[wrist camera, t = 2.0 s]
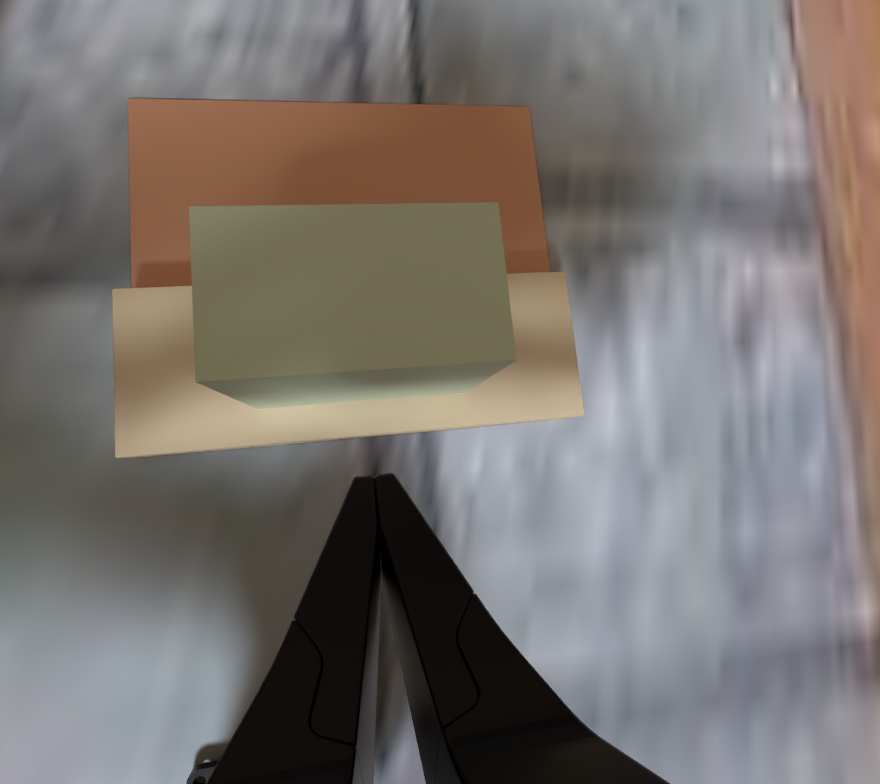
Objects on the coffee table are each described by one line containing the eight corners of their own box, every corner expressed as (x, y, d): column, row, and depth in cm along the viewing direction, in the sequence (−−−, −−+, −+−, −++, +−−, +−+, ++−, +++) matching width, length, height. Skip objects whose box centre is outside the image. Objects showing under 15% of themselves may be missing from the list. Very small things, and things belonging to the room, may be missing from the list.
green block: (465, 392, 22) (516, 360, 14) (257, 409, 20) (195, 381, 13) (454, 286, 22) (498, 202, 15) (251, 294, 21) (188, 206, 14)
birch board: (566, 418, 24) (584, 415, 22) (138, 457, 21) (115, 457, 19) (549, 286, 25) (565, 271, 23) (135, 304, 22) (112, 288, 20)
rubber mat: (548, 278, 25) (551, 276, 25) (134, 295, 22) (131, 293, 22) (527, 110, 26) (529, 106, 26) (130, 103, 23) (127, 98, 23)
